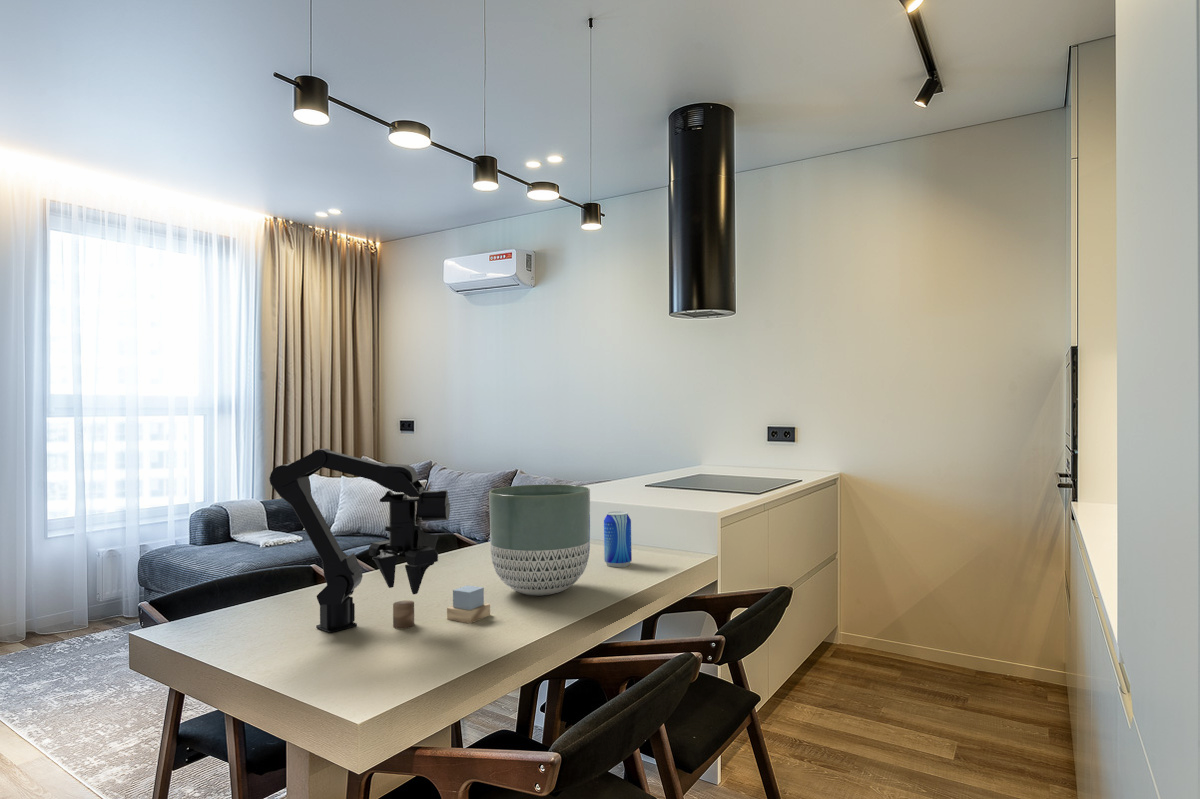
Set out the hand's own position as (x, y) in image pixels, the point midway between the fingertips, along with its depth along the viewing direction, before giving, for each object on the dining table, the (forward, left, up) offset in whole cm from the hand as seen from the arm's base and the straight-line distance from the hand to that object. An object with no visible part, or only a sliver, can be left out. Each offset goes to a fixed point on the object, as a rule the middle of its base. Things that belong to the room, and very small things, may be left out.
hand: (402, 590), depth 154 cm
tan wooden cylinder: (0, 0, -8) cm, 8 cm away
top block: (+13, -7, -5) cm, 16 cm away
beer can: (+76, -2, -8) cm, 77 cm away
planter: (+39, -5, -8) cm, 40 cm away
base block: (+13, -7, -8) cm, 17 cm away
